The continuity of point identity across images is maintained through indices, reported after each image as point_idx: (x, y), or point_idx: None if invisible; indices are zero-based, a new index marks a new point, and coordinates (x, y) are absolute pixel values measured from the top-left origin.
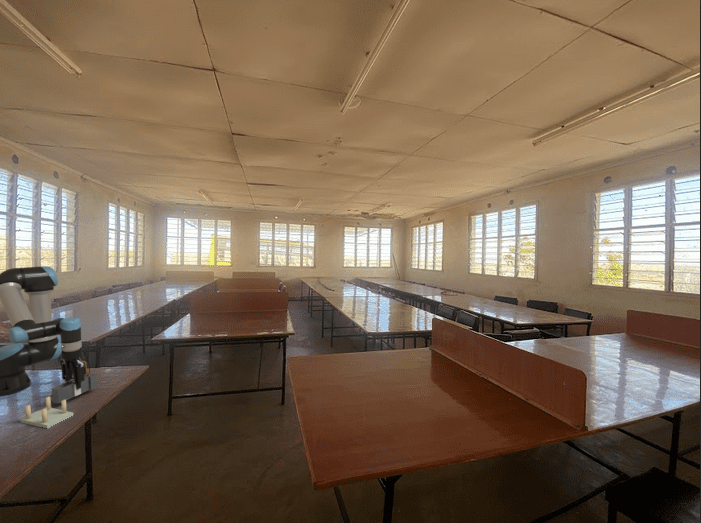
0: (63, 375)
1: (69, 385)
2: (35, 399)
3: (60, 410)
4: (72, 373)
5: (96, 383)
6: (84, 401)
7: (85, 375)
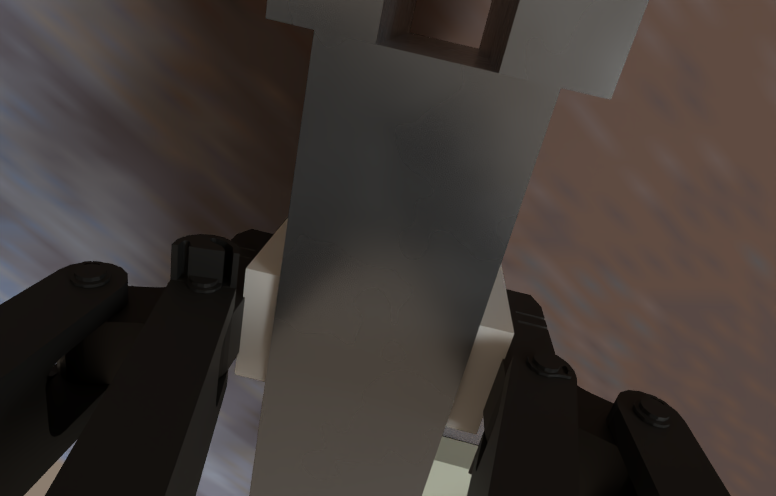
0: (50, 451)
1: (426, 478)
2: None
3: None
4: (199, 403)
5: None
6: (579, 246)
7: (376, 22)
